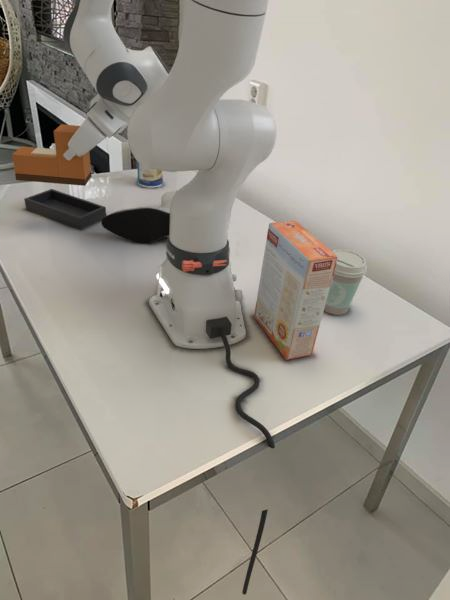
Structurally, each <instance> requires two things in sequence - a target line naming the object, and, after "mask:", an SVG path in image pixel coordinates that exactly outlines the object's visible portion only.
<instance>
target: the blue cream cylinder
mask: <svg viewBox="0 0 450 600" xmlns="http://www.w3.org/2000/svg"><path fill="white" fill-rule="evenodd" d="M136 161H137V160H136ZM136 163H137V165H136V166H137V177H136V178H137V184H138V185H139V186H141V187H142V188H147V189H156V188H160V187H162V185H163V184H164V175H163V174H164V173H163V172H164V171H159V170H153V169H147V168H144V167H143V166H142V165H140V164H139V163H138V161H137V162H136Z"/></svg>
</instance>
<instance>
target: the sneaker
mask: <svg viewBox="0 0 450 600" xmlns="http://www.w3.org/2000/svg"><path fill="white" fill-rule="evenodd" d="M80 126H81V125H74V124H73V125H72V124H63V123H61V124H60V125H59V126H57V127H56V129H54V130H53V138H54V146H55V148H47V147H46V148H44V147H28V146H20V147H19V148H17V150H15V151H14V152H13V153H12V154H11V157H12V163H13V169H14V176H15V180H16V181H24V182H34V183H35V182H36V183H47V184H48V183H49V184H59V185H71V186H84V187H85V186H87V184H88V182H89V181H90V179H91V178H92V169H91V168H92V167H91V155H90V154H91V153H90V151H88V152H87V153H86V154H84V155H83V156H81V157H79V156H77V155H75V156H74V157H73V158H72V159H71V160H67V159H66V158H65V157H64V156H63V154H64V153H65V152H66V151H67V150H68V149H69V147H68V142H69V141H70V139H71V138H72V137H73V135H74V134H75V133H76V131H77V130H78V129H79V127H80Z"/></svg>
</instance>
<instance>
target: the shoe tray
mask: <svg viewBox="0 0 450 600" xmlns="http://www.w3.org/2000/svg"><path fill="white" fill-rule="evenodd" d="M24 205H25V210H27V211H29V212H32V213H34V214H37V215H40V216H43V217H46V218H48V219H52V220H54V221H57V222H60V223H62V224H64V225H67V226H70V227H73V228H76V229H78V230H83V229H86V228H88V227H90V226H92V225H94V224H96V223H98V222H100V221H102V219H103V218H104V217H106V216H107V209H106V206H104V205H101V204H99V203H95V202H93V201H89V200H86V199H84V198H80V197H78V196H74V195H71V194H68V193H65V192H62V191H59V190H56V189H54V188H50V189H48V190H45V191H42V192H39V193H35V194H33V195H30V196H28V197H25V198H24Z"/></svg>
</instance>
